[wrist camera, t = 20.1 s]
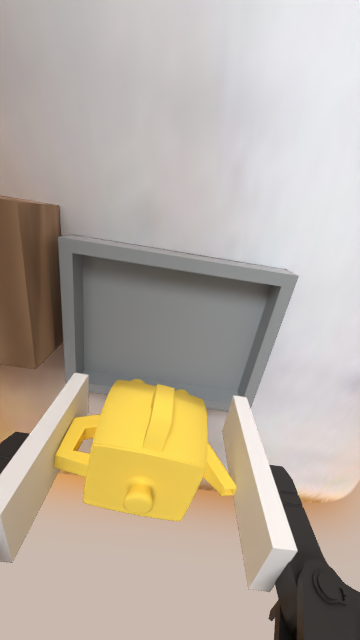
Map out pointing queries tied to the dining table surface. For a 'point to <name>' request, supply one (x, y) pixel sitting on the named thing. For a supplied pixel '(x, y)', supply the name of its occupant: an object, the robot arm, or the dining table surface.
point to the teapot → (144, 452)
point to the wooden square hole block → (29, 282)
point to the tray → (168, 318)
